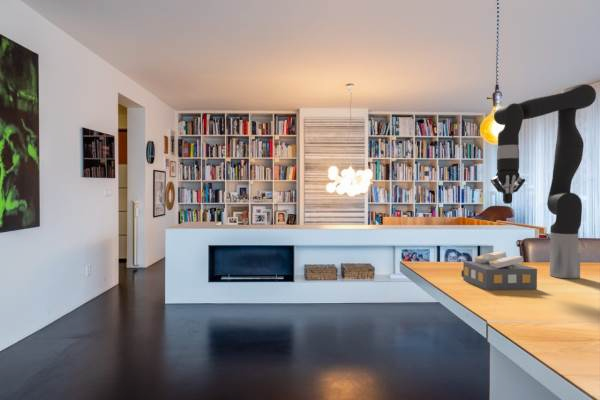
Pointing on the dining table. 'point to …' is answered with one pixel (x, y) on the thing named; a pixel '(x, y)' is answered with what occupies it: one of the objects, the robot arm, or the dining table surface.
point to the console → (500, 276)
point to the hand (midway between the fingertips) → (507, 203)
